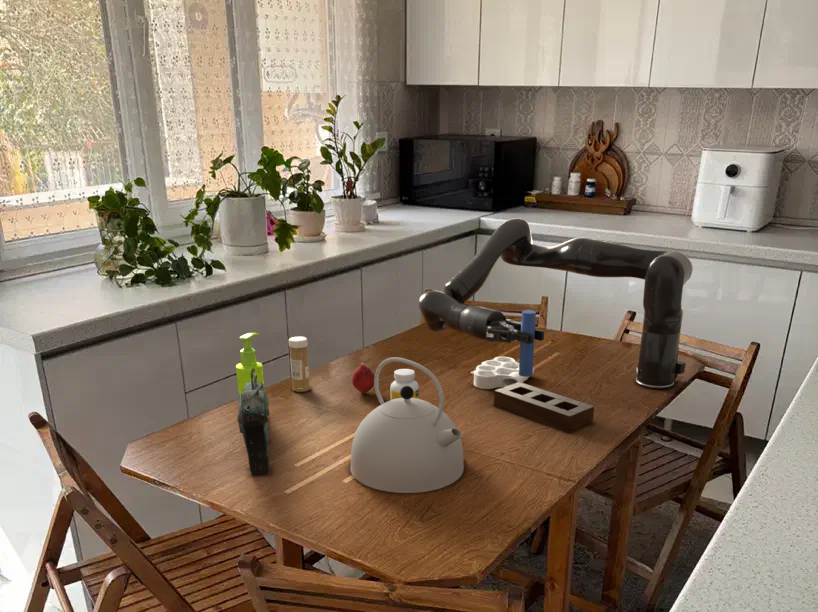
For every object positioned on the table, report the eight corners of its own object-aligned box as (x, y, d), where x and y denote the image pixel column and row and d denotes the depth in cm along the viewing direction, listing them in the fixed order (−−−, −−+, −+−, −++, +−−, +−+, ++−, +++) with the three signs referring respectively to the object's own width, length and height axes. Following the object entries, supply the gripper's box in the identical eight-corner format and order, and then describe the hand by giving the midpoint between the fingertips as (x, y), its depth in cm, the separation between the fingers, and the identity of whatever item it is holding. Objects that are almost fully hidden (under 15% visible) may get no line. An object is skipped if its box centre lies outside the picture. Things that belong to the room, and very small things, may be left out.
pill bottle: (416, 426, 176) (415, 377, 172) (388, 424, 177) (387, 375, 173) (421, 415, 182) (421, 368, 178) (394, 413, 183) (393, 366, 179)
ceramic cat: (274, 477, 153) (266, 381, 145) (240, 480, 152) (230, 383, 144) (273, 437, 171) (266, 349, 163) (243, 439, 170) (235, 351, 162)
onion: (380, 392, 197) (379, 361, 194) (366, 399, 192) (365, 368, 189) (361, 387, 200) (360, 357, 196) (347, 394, 195) (346, 364, 192)
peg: (524, 371, 185) (528, 309, 179) (535, 374, 183) (539, 311, 177) (515, 374, 183) (518, 311, 177) (526, 377, 181) (529, 314, 175)
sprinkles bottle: (313, 389, 199) (310, 338, 193) (299, 393, 196) (295, 342, 190) (302, 385, 202) (299, 334, 196) (288, 389, 199) (284, 338, 193)
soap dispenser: (274, 415, 183) (267, 332, 175) (257, 425, 177) (249, 340, 169) (253, 411, 185) (246, 329, 177) (235, 421, 179) (227, 337, 171)
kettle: (495, 468, 156) (500, 360, 147) (419, 509, 141) (419, 391, 132) (404, 434, 172) (404, 335, 163) (327, 468, 157) (321, 360, 148)
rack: (518, 397, 193) (519, 381, 191) (592, 422, 178) (594, 406, 176) (493, 406, 188) (494, 390, 186) (568, 433, 172) (569, 416, 171)
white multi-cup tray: (514, 394, 195) (460, 385, 201) (538, 373, 209) (487, 365, 216) (514, 381, 193) (460, 372, 200) (539, 361, 208) (487, 353, 214)
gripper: (462, 313, 183) (518, 327, 172) (502, 303, 192) (558, 316, 180) (461, 343, 186) (516, 360, 175) (501, 332, 195) (556, 347, 183)
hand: (537, 337), depth 178 cm, fingers closed on peg, 3 cm apart
